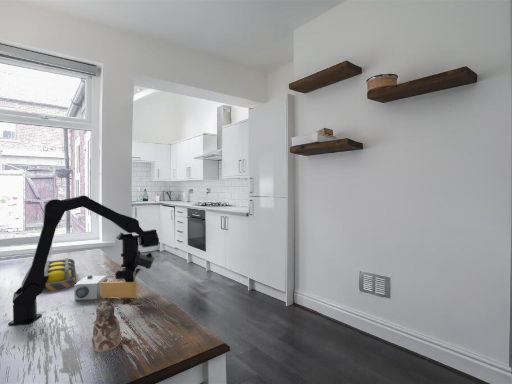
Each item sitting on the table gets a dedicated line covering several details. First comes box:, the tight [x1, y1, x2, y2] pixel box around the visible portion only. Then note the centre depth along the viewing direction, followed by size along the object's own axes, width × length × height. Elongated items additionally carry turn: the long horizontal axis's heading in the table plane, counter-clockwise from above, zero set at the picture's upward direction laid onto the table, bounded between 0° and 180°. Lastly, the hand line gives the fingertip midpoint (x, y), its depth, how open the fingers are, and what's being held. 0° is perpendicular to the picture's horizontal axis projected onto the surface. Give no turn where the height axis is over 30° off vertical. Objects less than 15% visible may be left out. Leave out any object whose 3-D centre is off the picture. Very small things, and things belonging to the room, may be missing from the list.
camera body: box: [73, 274, 108, 301], centre depth 118 cm, size 12×8×7 cm, turn 6°
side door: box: [96, 281, 139, 300], centre depth 114 cm, size 15×1×6 cm, turn 90°
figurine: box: [91, 298, 122, 353], centre depth 81 cm, size 7×7×12 cm
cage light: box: [42, 257, 77, 293], centre depth 136 cm, size 15×8×30 cm
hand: (131, 288), depth 117 cm, fingers closed
